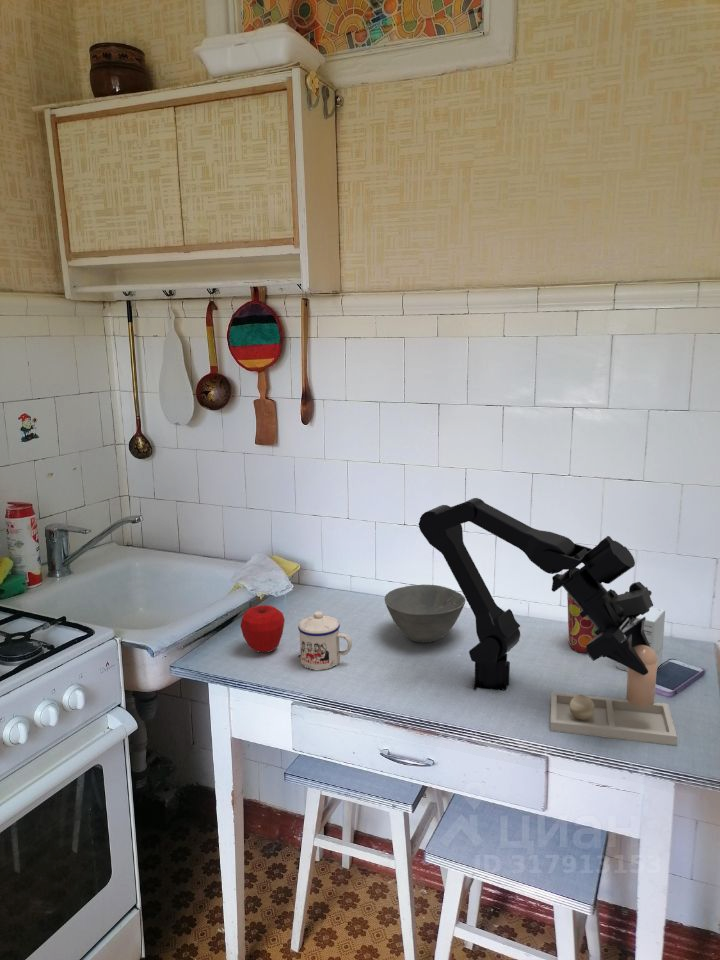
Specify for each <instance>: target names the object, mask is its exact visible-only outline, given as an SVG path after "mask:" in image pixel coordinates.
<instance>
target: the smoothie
mask: <svg viewBox="0 0 720 960" xmlns="http://www.w3.org/2000/svg"><path fill="white" fill-rule="evenodd" d="M601 584H602V585H603V584H604V583H603V582H602V583H601ZM603 586H604V585H603ZM566 592H567V591H566ZM566 595H567V597H566V599H567V624H568V625H567V630H568V643H569V644H570V647H571V649H572V650H574V651H576V652H578V653H583V654H584V653H585V654H587V653H586V645H587V644H588V643H589V642H590V641H591V640H592V639H593V638H594V637H596V636H597V635H596V634H595V631H596V630H597V628H596V627H595V625H594V624H593V623H592V622H591V620H590V619H589V618H588V617H587V616H585V617H584V618H582V617H581V615H580V614H579V613H580V612H581V611H582V610H581V608H580V607H579V606H578V605H577V603H576V602H575V601H574V600H573V598H572V597H571V596H570V595H569V594H568V592H567V593H566Z"/></svg>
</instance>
